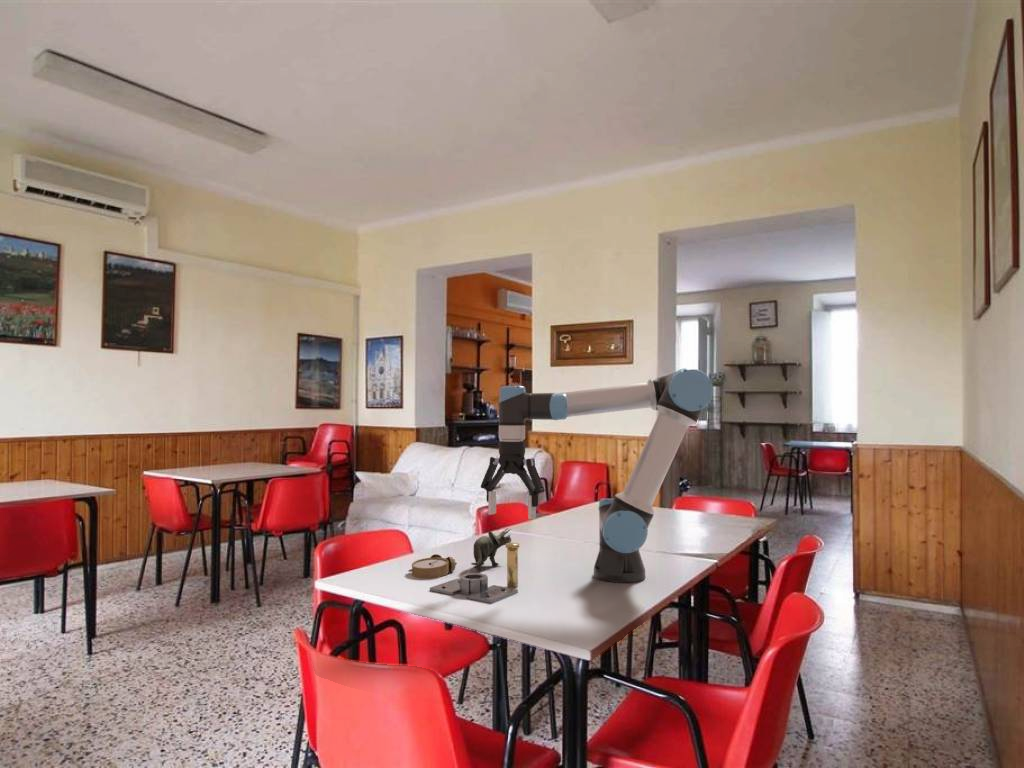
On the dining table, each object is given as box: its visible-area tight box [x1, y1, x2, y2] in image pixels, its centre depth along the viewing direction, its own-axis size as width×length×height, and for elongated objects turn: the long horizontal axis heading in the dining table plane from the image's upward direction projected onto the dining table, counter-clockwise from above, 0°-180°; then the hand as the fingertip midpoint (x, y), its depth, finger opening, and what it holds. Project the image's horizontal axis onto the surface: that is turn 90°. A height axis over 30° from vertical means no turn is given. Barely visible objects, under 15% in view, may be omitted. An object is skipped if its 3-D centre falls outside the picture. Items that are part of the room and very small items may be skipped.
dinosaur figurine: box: [470, 527, 512, 573], centre depth 199 cm, size 22×8×11 cm, turn 148°
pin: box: [505, 542, 520, 589], centre depth 177 cm, size 4×4×12 cm
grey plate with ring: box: [429, 572, 519, 604], centre depth 172 cm, size 12×21×4 cm, turn 55°
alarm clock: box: [408, 553, 458, 579], centre depth 193 cm, size 11×5×15 cm
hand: (511, 516), depth 178 cm, fingers open, 13 cm apart
